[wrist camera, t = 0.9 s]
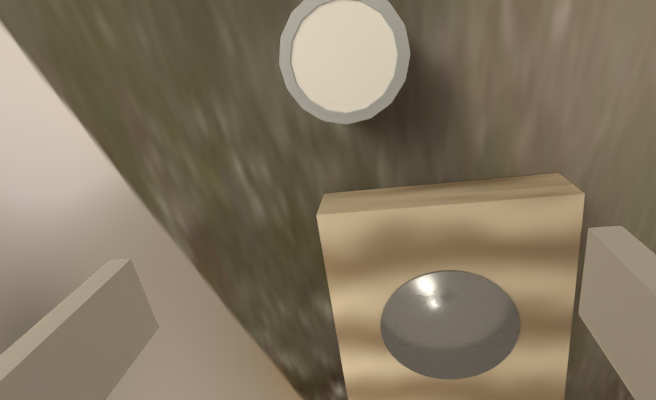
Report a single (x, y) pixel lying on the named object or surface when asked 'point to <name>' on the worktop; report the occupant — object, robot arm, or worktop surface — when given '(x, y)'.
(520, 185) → the birch stand
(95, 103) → the worktop surface
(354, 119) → the tapered cream cylinder
